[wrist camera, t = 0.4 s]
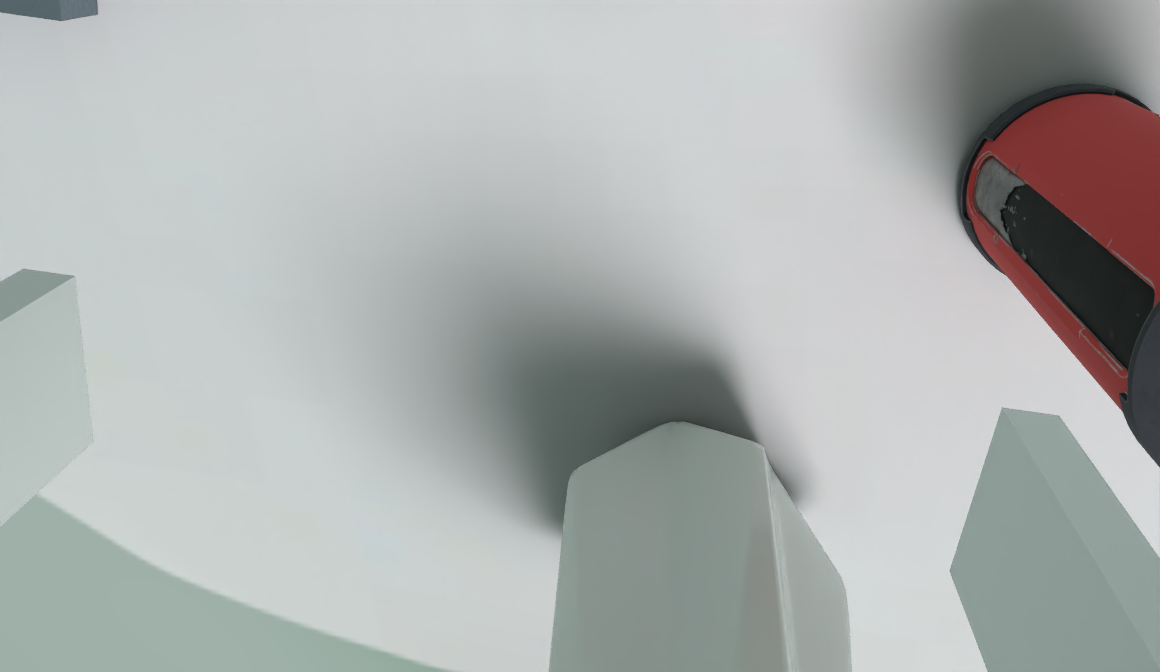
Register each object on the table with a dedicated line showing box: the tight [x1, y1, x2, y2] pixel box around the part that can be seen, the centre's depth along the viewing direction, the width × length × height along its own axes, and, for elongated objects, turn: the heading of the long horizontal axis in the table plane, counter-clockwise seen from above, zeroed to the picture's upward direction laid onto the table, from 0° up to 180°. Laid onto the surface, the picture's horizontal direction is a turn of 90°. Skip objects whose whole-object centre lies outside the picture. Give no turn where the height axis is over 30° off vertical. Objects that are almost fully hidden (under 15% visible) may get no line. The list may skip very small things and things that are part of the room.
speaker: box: [960, 84, 1160, 467], centre depth 30 cm, size 8×8×18 cm
